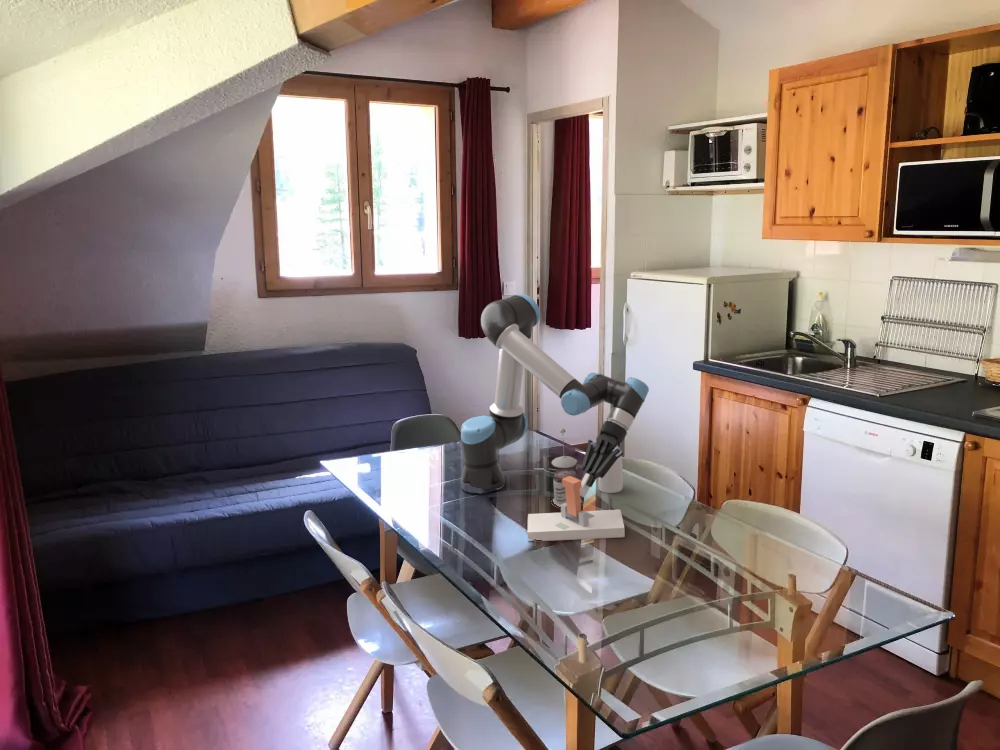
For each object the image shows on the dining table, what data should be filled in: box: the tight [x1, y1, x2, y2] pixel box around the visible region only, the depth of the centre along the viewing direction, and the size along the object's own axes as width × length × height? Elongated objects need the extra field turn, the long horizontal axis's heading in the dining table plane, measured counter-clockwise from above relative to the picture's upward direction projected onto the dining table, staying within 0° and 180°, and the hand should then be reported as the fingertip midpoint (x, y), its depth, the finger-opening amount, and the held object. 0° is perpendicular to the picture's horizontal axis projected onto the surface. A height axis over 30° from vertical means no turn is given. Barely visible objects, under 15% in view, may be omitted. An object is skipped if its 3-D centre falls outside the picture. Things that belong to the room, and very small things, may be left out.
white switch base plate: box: [527, 502, 626, 542], centre depth 237 cm, size 28×12×7 cm, turn 87°
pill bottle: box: [597, 455, 624, 494], centre depth 262 cm, size 8×8×15 cm
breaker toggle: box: [561, 476, 582, 522], centre depth 235 cm, size 3×5×13 cm, turn 37°
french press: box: [551, 427, 583, 508], centre depth 254 cm, size 10×12×25 cm
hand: (580, 494), depth 236 cm, fingers closed
